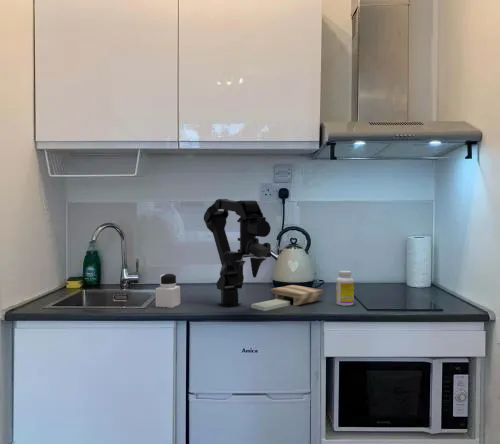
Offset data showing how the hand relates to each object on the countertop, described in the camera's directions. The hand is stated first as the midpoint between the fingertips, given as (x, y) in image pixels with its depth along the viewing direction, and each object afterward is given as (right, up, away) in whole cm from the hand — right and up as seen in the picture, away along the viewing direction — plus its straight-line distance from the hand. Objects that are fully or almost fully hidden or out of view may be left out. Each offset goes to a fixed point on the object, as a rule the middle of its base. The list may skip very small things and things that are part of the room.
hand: (247, 278), depth 175 cm
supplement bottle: (+38, -12, +13) cm, 41 cm away
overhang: (+19, -11, +19) cm, 29 cm away
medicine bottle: (-30, -12, +10) cm, 34 cm away
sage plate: (+9, -12, +9) cm, 17 cm away
